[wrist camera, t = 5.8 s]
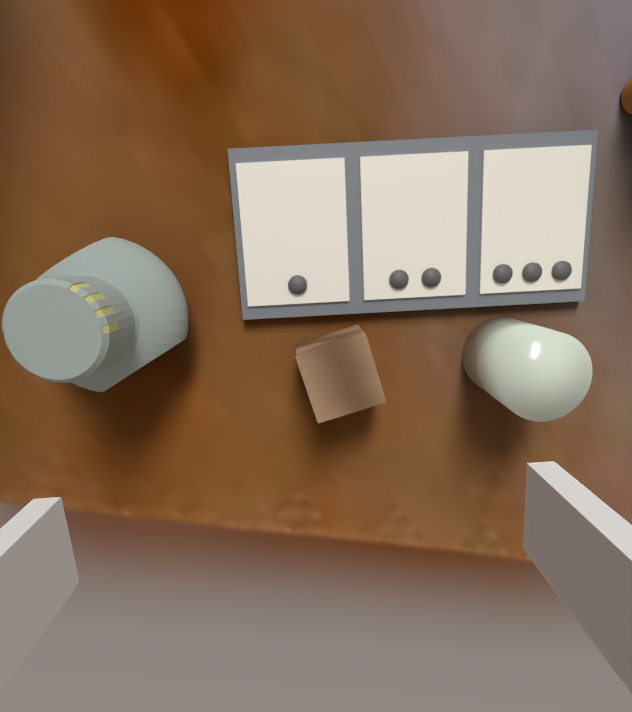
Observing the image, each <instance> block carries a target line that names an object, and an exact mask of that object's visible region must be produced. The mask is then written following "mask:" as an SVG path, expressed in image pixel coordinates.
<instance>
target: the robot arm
mask: <svg viewBox="0 0 632 712" xmlns="http://www.w3.org/2000/svg"><path fill="white" fill-rule="evenodd" d="M523 549H524V550H525V552H526V553H527V554H528V556H529V557H530V558H531V560H532V561H533V562H534V564H535V565H536V566H537V568H538V569H539V570H540V572H541V573H542V574H543V576H544V577H545V578H546V580H547V581H548V582H549V584H550V585H551V586H552V588H553V589H554V591H555V592H556V593H557V595H558V596H559V597H560V598H561V600H562V601H563V603H564V604H565V605H566V606H567V608H568V609H569V611H570V612H571V613H572V615H573V616H574V617H575V619H576V620H577V621H578V623H579V624H580V625H581V627H582V628H583V629H584V631H585V632H586V633H587V635H588V636H589V637H590V639H591V640H592V641H593V643H594V644H595V645H596V647H597V648H598V650H599V651H600V652H601V654H602V655H603V656H604V658H605V659H606V660H607V661H608V663H609V664H610V666H611V667H612V668H613V670H614V671H615V672H616V674H617V675H618V676H619V678H620V679H621V680H622V682H623V683H624V684H625V686H626V687H627V688H628V690H629V691H630V692H631V694H632V525H631V524H630V523H628V522H627V521H626V520H625V519H623V518H622V517H621V516H620V515H619V514H617V513H616V512H615V511H614V510H613V509H611V508H610V507H609V506H608V505H606V504H605V503H604V502H603V501H602V500H600V499H599V498H598V497H597V496H596V495H594V494H593V493H592V492H591V491H589V490H588V489H587V488H586V487H585V486H583V485H582V484H581V483H580V482H579V481H577V480H576V479H575V478H574V477H572V476H571V475H570V474H569V473H568V472H566V471H565V470H564V469H563V468H562V467H560V466H559V465H558V464H557V463H555V462H554V461H551V462H537V463H527V476H526V499H525V523H524V546H523ZM78 583H79V578H78V574H77V569H76V564H75V559H74V555H73V550H72V546H71V541H70V536H69V532H68V527H67V522H66V518H65V513H64V508H63V504H62V499H61V497H54V498H40V499H33V500H32V501H31V502H30V503H29V504H27V505H26V506H25V507H24V508H23V509H22V510H21V511H20V512H18V514H16V515H15V516H14V517H13V518H12V519H11V520H10V521H9V522H7V523H6V524H5V525H4V526H3V527H2V528H1V529H0V695H1V694H2V692H3V691H4V689H5V688H6V686H7V685H8V684H9V682H10V681H11V679H12V678H13V676H14V675H15V674H16V672H17V671H18V669H19V668H20V666H21V665H22V663H23V662H24V661H25V659H26V658H27V656H28V655H29V653H30V652H31V651H32V649H33V648H34V646H35V645H36V643H37V642H38V640H39V639H40V637H41V636H42V635H43V633H44V632H45V630H46V629H47V627H48V626H49V624H50V623H51V622H52V620H53V619H54V617H55V616H56V615H57V613H58V612H59V610H60V609H61V607H62V606H63V604H64V603H65V602H66V600H67V599H68V597H69V596H70V594H71V593H72V591H73V590H74V589H75V587H76V586H77V584H78Z"/></svg>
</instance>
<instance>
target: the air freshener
mask: <svg viewBox="0 0 632 712" xmlns="http://www.w3.org/2000/svg"><path fill="white" fill-rule="evenodd" d="M188 318H189V316H188V309H187V303H186V300H185V296H184V293H183V291H182V288H181V286H180V284H179V282H178V280H177V279H176V277H175V276H174V274H173V273H172V272H171V270H170V269H169V268H168V267H167V266H166V265H165V264H164V263H163V262H162V260H161V259H159V258H158V257H157V256H155V255H154V254H153V253H152V252H150V251H149V250H147V249H145V248H143V247H142V246H140V245H138V244H136V243H133V242H130V241H127V240H125V239H120V238H115V237H109V238H105V239H102V240H100V241H97V242H95V243H93V244H91V245H89V246H87V247H85V248H83V249H81V250H79V251H77V252H76V253H74V254H72V255H70V256H69V257H67V258H66V259H64V260H62V261H61V262H59V263H58V264H56V265H55V266H53V267H52V268H50V269H49V270H48V271H46V272H45V273H44V274H42V275H41V276H40V277H38V278H37V279H36V280H35V281H33V282H30V283H28V284H26V285H24V286H22V287H21V288H19V289H18V290H17V291H16V292H15V293H14V294H13V295H12V296H11V298H10V299H9V301H8V303H7V304H6V306H5V309H4V313H3V318H2V332H4V335H5V340H4V341H5V343H6V346H7V348H8V349H10V351H11V353H12V357H13V358H14V359H15V360H16V362H17V363H20V364H21V365H22V366H23V367H24V369H25V370H26V371H27V372H29V373H30V374H36V375H38V376H39V378H40V379H43V380H46V381H49V382H55V383H69V382H71V383H73V384H75V385H77V386H79V387H82V388H85V389H88V390H91V391H97V392H104V391H105V390H107V389H109V388H110V387H112V386H113V385H115V384H116V383H118V382H120V381H121V380H123V379H124V378H126V377H127V376H129V375H130V374H132V373H134V372H135V371H137V370H138V369H140V368H141V367H143V366H144V365H146V364H147V363H149V362H151V361H152V360H154V359H155V358H157V357H158V356H160V355H161V354H163V353H165V352H166V351H168V350H169V349H171V348H172V347H174V346H175V345H177V344H178V343H180V342H182V341H183V340H185V339H186V337H187V332H188Z"/></svg>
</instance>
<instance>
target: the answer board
mask: <svg viewBox="0 0 632 712" xmlns="http://www.w3.org/2000/svg"><path fill="white" fill-rule="evenodd" d="M597 140H598V130H582V131H563V132H544V133H524V134H505V135H486V136H466V137H447V138H428V139H409V140H389V141H370V142H351V143H331V144H312V145H293V146H274V147H254V148H235V149H228V159H229V170H230V181H231V192H232V204H233V215H234V226H235V237H236V249H237V260H238V271H239V282H240V294H241V305H242V316H243V320H249V319H267V318H285V317H304V316H322V315H340V314H358V313H376V312H395V311H413V310H431V309H449V308H467V307H486V306H504V305H522V304H540V303H559V302H577V301H585V292H586V280H587V267H588V254H589V241H590V229H591V216H592V203H593V190H594V178H595V165H596V152H597Z"/></svg>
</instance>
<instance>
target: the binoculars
mask: <svg viewBox="0 0 632 712" xmlns="http://www.w3.org/2000/svg"><path fill="white" fill-rule="evenodd" d="M621 102H622V106H623V108H624V109H625V110H626V111H627V112H628V113H629V114H631V115H632V78H631V79H630V80H629V81H628V82H627V84H626V85H625V87H624V89H623V91H622V95H621Z"/></svg>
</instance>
